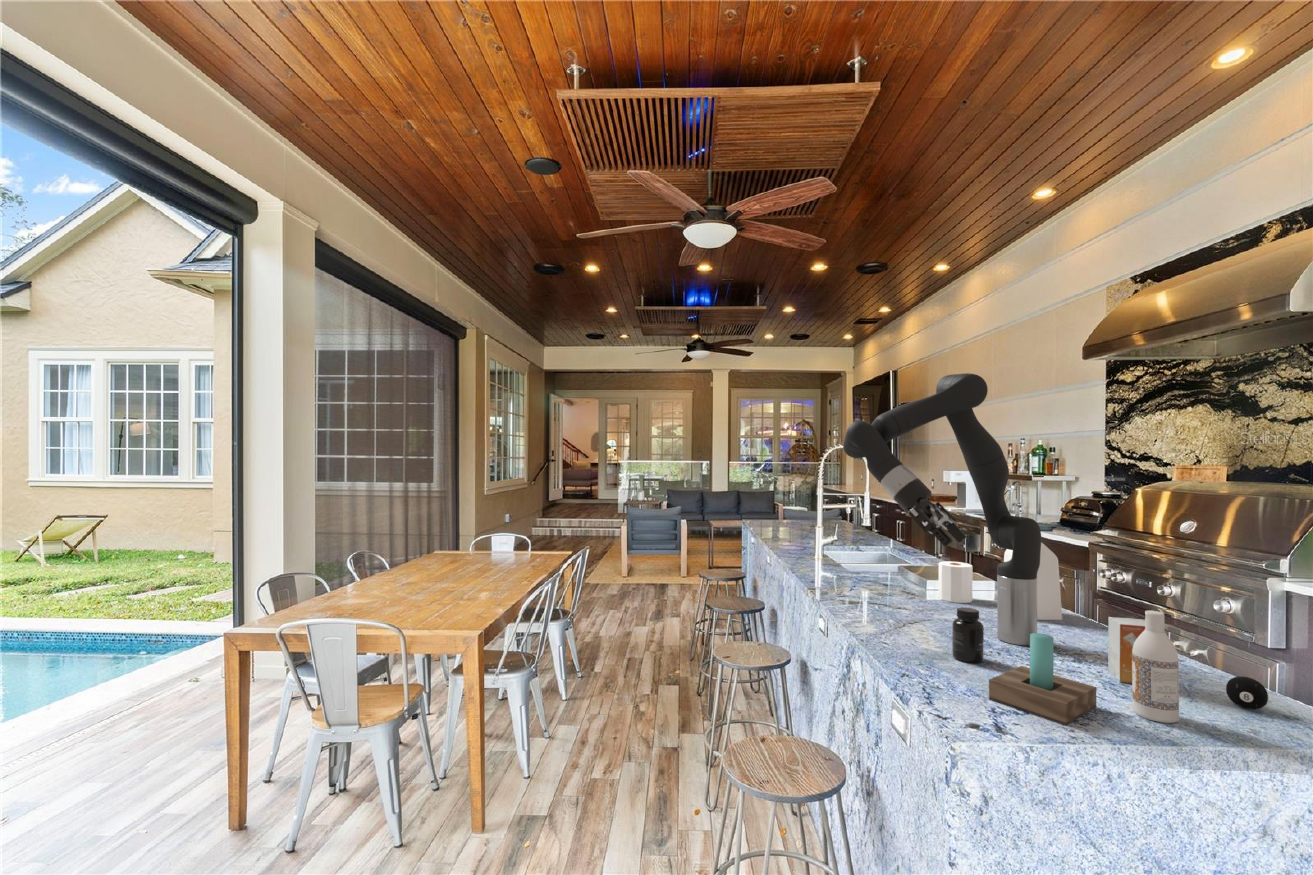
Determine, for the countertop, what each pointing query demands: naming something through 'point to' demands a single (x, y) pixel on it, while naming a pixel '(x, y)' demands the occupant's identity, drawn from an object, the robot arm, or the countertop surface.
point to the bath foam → (1155, 672)
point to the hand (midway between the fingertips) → (956, 541)
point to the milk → (1046, 585)
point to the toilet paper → (955, 582)
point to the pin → (1041, 661)
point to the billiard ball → (1247, 692)
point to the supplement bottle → (968, 636)
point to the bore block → (1043, 696)
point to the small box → (1122, 646)
